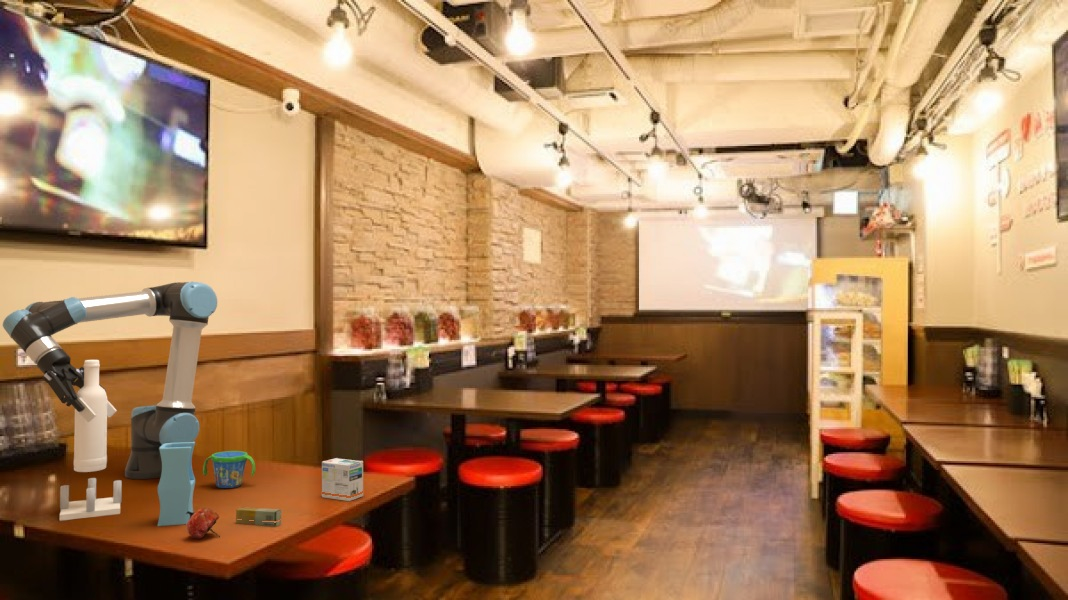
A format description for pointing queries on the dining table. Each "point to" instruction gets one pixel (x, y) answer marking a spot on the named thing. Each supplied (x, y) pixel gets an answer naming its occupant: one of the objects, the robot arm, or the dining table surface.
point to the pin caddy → (90, 502)
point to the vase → (176, 483)
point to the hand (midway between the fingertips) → (102, 416)
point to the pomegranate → (201, 522)
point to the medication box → (258, 516)
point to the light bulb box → (342, 478)
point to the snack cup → (229, 468)
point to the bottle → (91, 423)
